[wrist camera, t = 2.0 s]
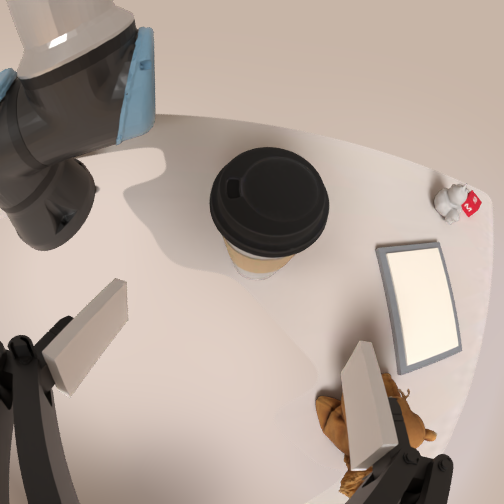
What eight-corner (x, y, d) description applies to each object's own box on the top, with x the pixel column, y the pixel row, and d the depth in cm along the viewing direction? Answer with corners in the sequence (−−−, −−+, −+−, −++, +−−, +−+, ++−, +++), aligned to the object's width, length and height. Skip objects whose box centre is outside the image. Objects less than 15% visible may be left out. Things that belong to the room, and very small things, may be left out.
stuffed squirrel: (387, 367, 30) (457, 365, 18) (389, 462, 25) (449, 493, 13) (312, 383, 29) (361, 397, 17) (318, 484, 24) (359, 535, 12)
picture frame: (375, 250, 35) (378, 247, 34) (436, 243, 36) (440, 241, 35) (397, 375, 29) (402, 375, 28) (458, 351, 30) (463, 350, 29)
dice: (463, 197, 41) (472, 189, 38) (472, 209, 40) (481, 202, 37) (458, 205, 40) (468, 197, 37) (468, 217, 39) (478, 210, 36)
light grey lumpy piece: (448, 199, 40) (474, 175, 32) (455, 232, 38) (484, 210, 30) (426, 192, 40) (451, 165, 32) (433, 226, 38) (462, 202, 30)
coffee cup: (204, 243, 34) (186, 167, 20) (269, 210, 36) (289, 127, 22) (243, 310, 32) (250, 273, 18) (310, 270, 34) (359, 211, 20)
